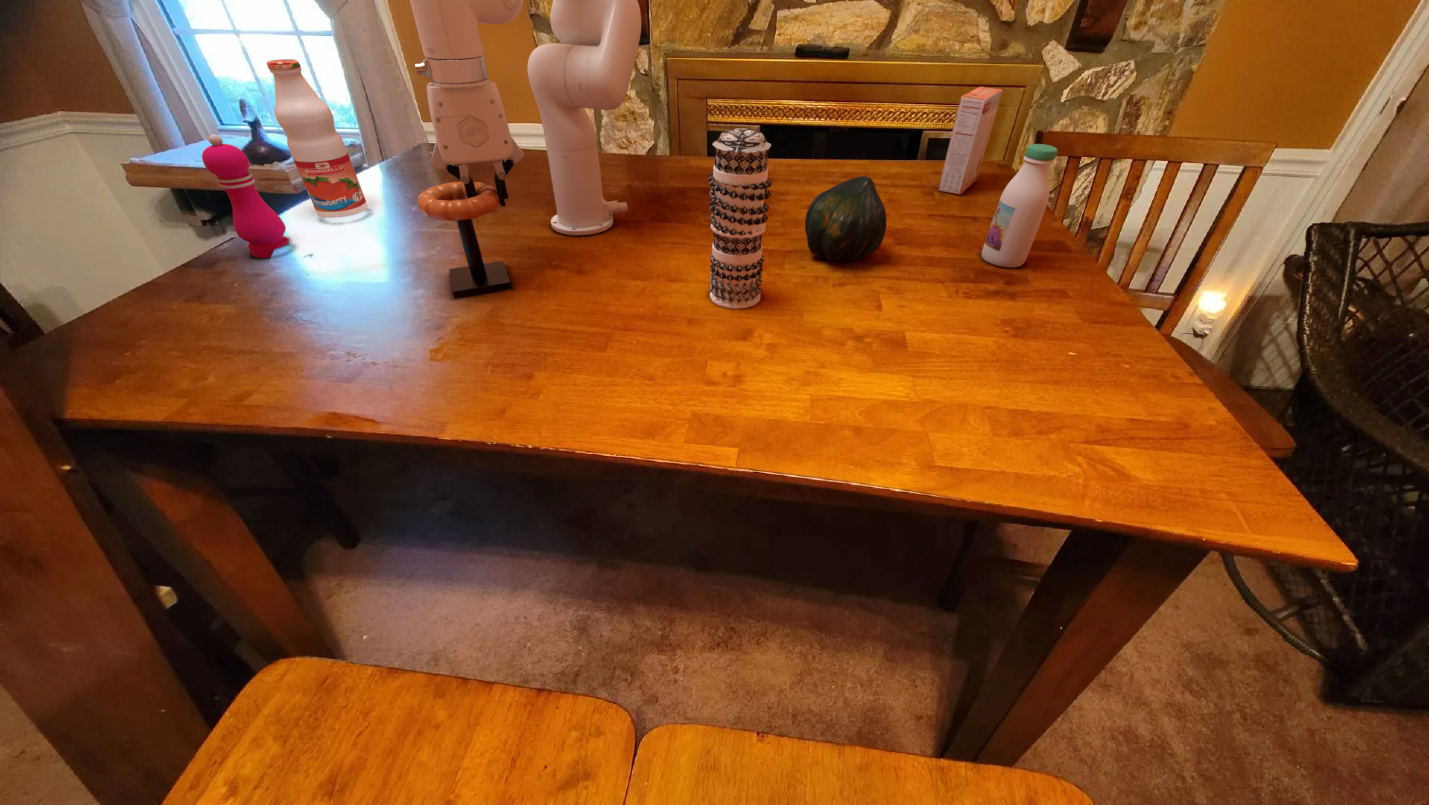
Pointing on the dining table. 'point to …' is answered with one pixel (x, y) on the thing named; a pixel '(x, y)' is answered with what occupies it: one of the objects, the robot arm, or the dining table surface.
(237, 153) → the pepper mill
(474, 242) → the stand
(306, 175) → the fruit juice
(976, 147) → the cracker box
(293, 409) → the dining table surface
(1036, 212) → the milk bottle
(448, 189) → the ring
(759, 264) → the decorative candle
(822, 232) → the squash
